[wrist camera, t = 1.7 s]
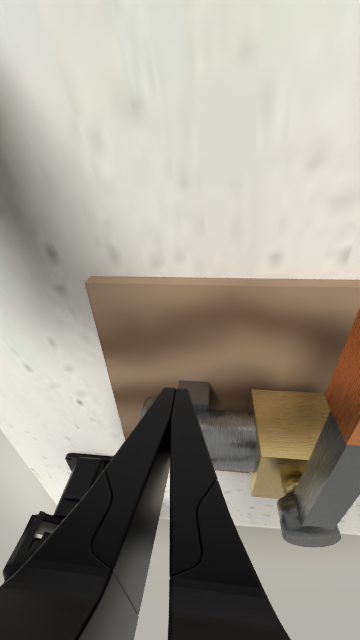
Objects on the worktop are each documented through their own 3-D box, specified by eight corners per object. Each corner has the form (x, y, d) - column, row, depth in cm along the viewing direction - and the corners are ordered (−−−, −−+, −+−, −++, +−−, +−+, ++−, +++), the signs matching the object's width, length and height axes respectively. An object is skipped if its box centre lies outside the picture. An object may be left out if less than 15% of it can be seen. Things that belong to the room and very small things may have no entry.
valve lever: (320, 511, 17) (333, 556, 15) (272, 507, 17) (279, 549, 15) (463, 283, 8) (537, 325, 6) (356, 281, 8) (397, 321, 6)
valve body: (402, 435, 22) (466, 535, 17) (156, 418, 24) (139, 501, 19) (435, 392, 19) (526, 495, 14) (150, 376, 21) (128, 460, 16)
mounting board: (398, 476, 27) (404, 486, 27) (133, 453, 30) (131, 462, 29) (564, 282, 15) (584, 291, 14) (90, 276, 18) (84, 282, 17)
